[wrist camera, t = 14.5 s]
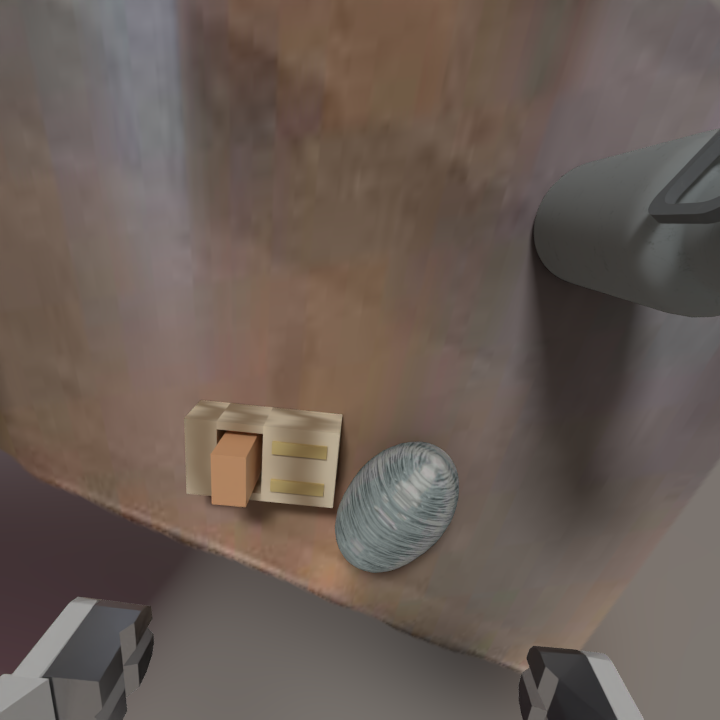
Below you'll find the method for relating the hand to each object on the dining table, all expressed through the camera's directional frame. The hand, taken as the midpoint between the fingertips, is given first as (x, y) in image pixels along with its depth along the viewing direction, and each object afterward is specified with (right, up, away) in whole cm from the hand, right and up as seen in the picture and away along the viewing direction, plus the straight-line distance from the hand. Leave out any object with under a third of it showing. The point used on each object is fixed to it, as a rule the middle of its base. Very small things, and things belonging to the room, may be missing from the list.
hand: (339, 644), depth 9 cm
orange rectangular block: (-11, -2, +34) cm, 36 cm away
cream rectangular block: (-9, -2, +34) cm, 35 cm away
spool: (+4, -6, +35) cm, 36 cm away
